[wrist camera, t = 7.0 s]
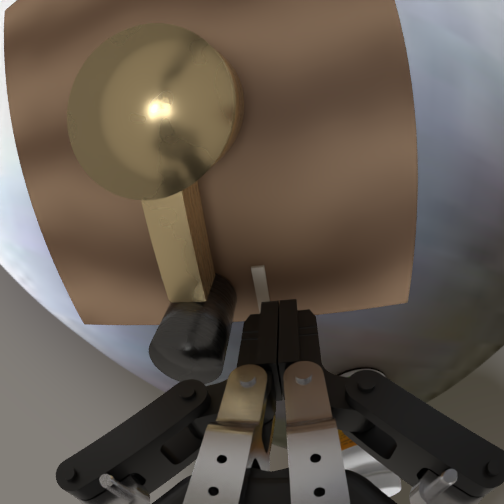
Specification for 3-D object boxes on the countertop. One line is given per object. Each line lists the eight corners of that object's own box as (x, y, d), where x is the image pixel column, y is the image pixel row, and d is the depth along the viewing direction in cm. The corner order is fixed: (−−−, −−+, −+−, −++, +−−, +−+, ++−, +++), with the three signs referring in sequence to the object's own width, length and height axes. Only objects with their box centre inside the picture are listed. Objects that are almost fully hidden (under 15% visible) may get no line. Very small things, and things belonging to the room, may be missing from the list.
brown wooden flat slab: (24, 13, 9) (2, 10, 7) (346, -84, 6) (354, -103, 4) (97, 306, 19) (82, 326, 17) (396, 282, 16) (408, 304, 14)
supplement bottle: (321, 408, 22) (326, 511, 14) (322, 371, 20) (331, 494, 11) (381, 400, 22) (400, 498, 13) (392, 361, 19) (423, 476, 11)
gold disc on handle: (100, 63, 10) (33, 58, 6) (235, 27, 9) (210, -13, 5) (161, 319, 16) (133, 378, 12) (269, 317, 15) (265, 385, 11)
